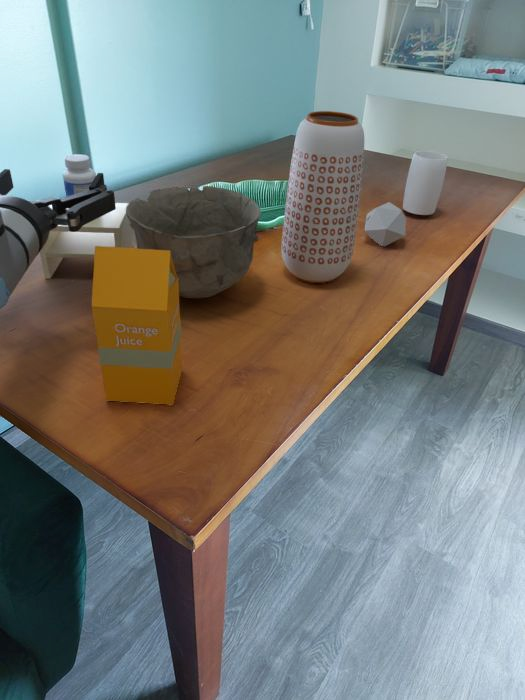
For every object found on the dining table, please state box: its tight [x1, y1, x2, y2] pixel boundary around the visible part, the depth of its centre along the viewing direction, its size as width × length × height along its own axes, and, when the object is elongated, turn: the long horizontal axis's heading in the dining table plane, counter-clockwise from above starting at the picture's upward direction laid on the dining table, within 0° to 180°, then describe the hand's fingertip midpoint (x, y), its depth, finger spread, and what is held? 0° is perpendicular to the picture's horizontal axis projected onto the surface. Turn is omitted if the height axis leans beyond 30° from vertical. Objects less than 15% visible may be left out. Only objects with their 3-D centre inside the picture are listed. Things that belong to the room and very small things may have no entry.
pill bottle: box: [62, 153, 97, 197], centre depth 92 cm, size 6×5×10 cm
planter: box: [280, 110, 365, 284], centre depth 94 cm, size 13×13×28 cm
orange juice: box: [91, 246, 183, 406], centre depth 66 cm, size 8×9×20 cm
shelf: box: [39, 202, 135, 279], centre depth 98 cm, size 14×12×10 cm
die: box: [364, 201, 407, 247], centre depth 114 cm, size 8×9×10 cm
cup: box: [402, 150, 449, 216], centre depth 128 cm, size 8×8×14 cm
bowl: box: [126, 185, 262, 299], centre depth 91 cm, size 22×22×15 cm
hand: (55, 180), depth 81 cm, fingers open, 13 cm apart
